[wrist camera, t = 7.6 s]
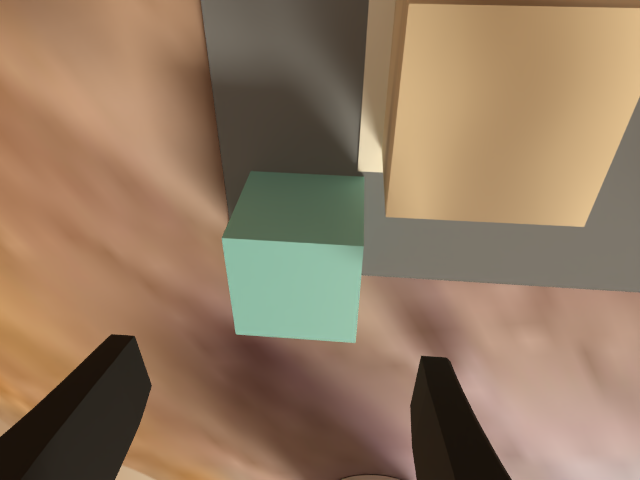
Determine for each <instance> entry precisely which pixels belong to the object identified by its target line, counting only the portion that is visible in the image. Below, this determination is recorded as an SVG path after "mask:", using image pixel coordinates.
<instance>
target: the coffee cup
mask: <svg viewBox="0 0 640 480" xmlns="http://www.w3.org/2000/svg"><path fill="white" fill-rule="evenodd" d="M342 480H399V479H396V478H392V477H387V476H380V475H359V476H352V477H348V478H344V479H342Z"/></svg>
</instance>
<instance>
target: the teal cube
mask: <svg viewBox="0 0 640 480" xmlns="http://www.w3.org/2000/svg"><path fill="white" fill-rule="evenodd" d="M222 243H223V250H224V257H225V264H226V271H227V277H228V284H229V291H230V298H231V305H232V311H233V318H234V325H235V332H236V334H238V335H252V336H266V337H280V338H294V339H308V340H322V341H337V342H351V343H356V331H357V320H358V308H359V296H360V284H361V273H362V261H363V249H364V177H360V176H339V175H319V174H299V173H278V172H258V171H251V172H250V174H249V176H248V179H247V181H246V183H245V185H244V188H243V190H242V192H241V195H240V197H239V199H238V202H237V204H236V206H235V209H234V211H233V213H232V216H231V218H230V220H229V222H228V225H227V227H226V229H225V232H224V234H223V236H222Z"/></svg>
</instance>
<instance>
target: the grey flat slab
mask: <svg viewBox="0 0 640 480" xmlns="http://www.w3.org/2000/svg"><path fill="white" fill-rule="evenodd" d="M395 2H396V0H201V7H202V14H203V22H204V29H205V37H206V45H207V52H208V60H209V68H210V75H211V83H212V91H213V98H214V106H215V114H216V121H217V129H218V137H219V144H220V152H221V160H222V167H223V175H224V183H225V190H226V198H227V206H228V213H229V220H230V218H231V216H232V213H233V211H234V209H235V206H236V204H237V202H238V199H239V197H240V195H241V192H242V190H243V188H244V185H245V183H246V181H247V179H248V176H249V174H250V172H251V171H258V172H278V173H299V174H319V175H339V176H360V177H364V249H363V261H362V273H361V275H368V276H384V277H400V278H416V279H432V280H448V281H464V282H480V283H496V284H512V285H528V286H544V287H560V288H576V289H592V290H609V291H625V292H640V97H639V99H638V102H637V104H636V106H635V109H634V111H633V113H632V116H631V118H630V120H629V123H628V125H627V127H626V130H625V132H624V135H623V137H622V139H621V142H620V144H619V146H618V149H617V151H616V153H615V156H614V158H613V160H612V163H611V165H610V167H609V170H608V172H607V174H606V177H605V179H604V181H603V184H602V186H601V188H600V191H599V193H598V195H597V198H596V200H595V202H594V205H593V207H592V209H591V212H590V214H589V216H588V219H587V221H586V224H585V226H584V227H575V226H555V225H535V224H515V223H494V222H474V221H454V220H434V219H414V218H394V217H386V214H385V197H384V180H383V163H382V142H383V131H384V121H385V110H386V99H387V88H388V77H389V67H390V56H391V45H392V34H393V24H394V13H395Z"/></svg>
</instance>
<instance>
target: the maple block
mask: <svg viewBox="0 0 640 480" xmlns="http://www.w3.org/2000/svg"><path fill="white" fill-rule="evenodd" d="M639 97H640V0H396V2H395V13H394V24H393V34H392V45H391V56H390V67H389V77H388V88H387V99H386V110H385V121H384V131H383V142H382V163H383V180H384V197H385V214H386V217H394V218H414V219H434V220H454V221H474V222H494V223H515V224H535V225H555V226H575V227H584V226H585V224H586V221H587V219H588V216H589V214H590V212H591V209H592V207H593V205H594V202H595V200H596V198H597V195H598V193H599V191H600V188H601V186H602V184H603V181H604V179H605V177H606V174H607V172H608V170H609V167H610V165H611V163H612V160H613V158H614V156H615V153H616V151H617V149H618V146H619V144H620V142H621V139H622V137H623V135H624V132H625V130H626V127H627V125H628V123H629V120H630V118H631V116H632V113H633V111H634V109H635V106H636V104H637V102H638V99H639Z"/></svg>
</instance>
